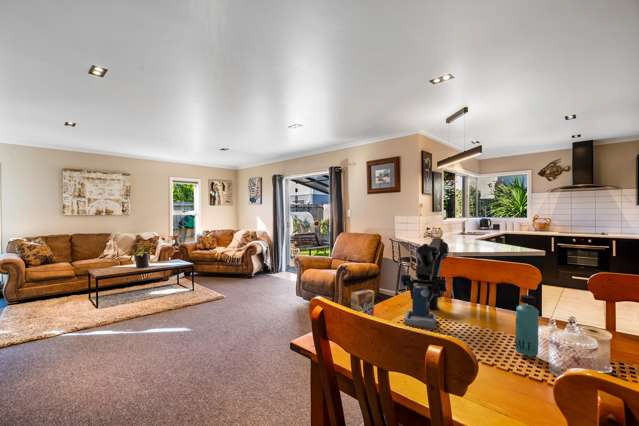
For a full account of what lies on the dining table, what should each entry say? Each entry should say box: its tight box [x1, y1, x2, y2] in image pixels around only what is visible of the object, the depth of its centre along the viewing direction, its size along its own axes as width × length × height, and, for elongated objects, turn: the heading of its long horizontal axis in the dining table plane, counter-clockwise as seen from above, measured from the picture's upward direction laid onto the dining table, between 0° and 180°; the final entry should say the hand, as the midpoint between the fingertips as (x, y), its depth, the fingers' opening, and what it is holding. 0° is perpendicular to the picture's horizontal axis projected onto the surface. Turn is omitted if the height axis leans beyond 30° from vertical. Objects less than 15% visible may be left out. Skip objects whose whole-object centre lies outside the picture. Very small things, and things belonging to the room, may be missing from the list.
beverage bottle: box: [514, 294, 540, 357], centre depth 99 cm, size 6×7×20 cm
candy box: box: [350, 289, 375, 316], centre depth 119 cm, size 9×4×15 cm, turn 123°
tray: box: [403, 309, 437, 331], centre depth 129 cm, size 12×12×2 cm
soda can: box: [411, 284, 431, 317], centre depth 129 cm, size 7×7×12 cm
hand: (420, 299), depth 127 cm, fingers closed on soda can, 7 cm apart
